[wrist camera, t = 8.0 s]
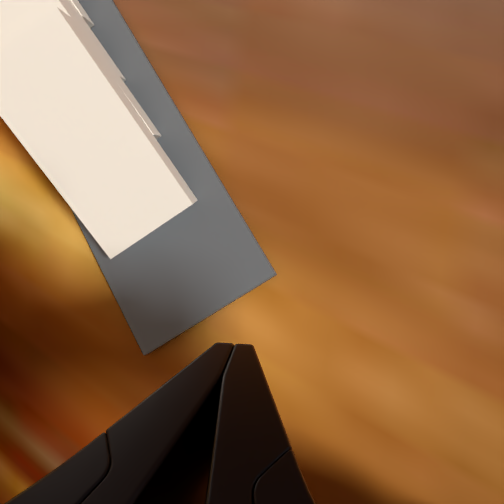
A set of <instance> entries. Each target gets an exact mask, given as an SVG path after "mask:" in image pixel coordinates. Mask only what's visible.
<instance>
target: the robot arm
mask: <svg viewBox="0 0 504 504" xmlns="http://www.w3.org/2000/svg"><path fill="white" fill-rule="evenodd" d="M5 504H316V503H315V501H314V499H313V497H312V495H311V493H310V491H309V489H308V487H307V484H306V482H305V479H304V477H303V475H302V472H301V470H300V468H299V465H298V462H297V460H296V457H295V454H294V452H293V451H292V447H291V444H290V442H289V439H288V436H287V434H286V431H285V428H284V426H283V423H282V420H281V418H280V415H279V412H278V410H277V407H276V404H275V402H274V399H273V396H272V394H271V391H270V389H269V386H268V383H267V381H266V378H265V375H264V373H263V370H262V367H261V365H260V362H259V359H258V357H257V354H256V351H255V349H254V346H253V345H250V344H236V345H235V346H234V344H232V343H216V344H214V345H213V346H212V347H210V348H209V349H208V350H207V351H205V352H204V353H203V354H201V355H200V356H199V357H198V358H196V359H195V360H194V361H193V362H191V363H190V364H189V365H188V366H186V367H185V368H184V369H183V370H181V371H180V372H179V373H178V374H176V375H175V376H174V377H173V378H171V379H170V380H169V381H167V382H166V383H165V384H164V385H162V386H161V387H160V388H159V389H157V390H156V391H155V392H154V393H152V394H151V395H150V396H149V397H147V398H146V399H145V400H144V401H142V402H141V403H140V404H139V405H137V406H136V407H135V408H134V409H132V410H131V411H130V412H128V413H127V414H126V415H125V416H123V417H122V418H121V419H120V420H118V421H117V422H116V423H115V424H113V425H112V426H111V427H110V428H108V429H107V430H106V433H102V434H101V435H99V436H98V437H97V438H96V439H94V440H93V441H92V442H90V443H89V444H88V445H87V446H85V447H84V448H83V449H81V450H80V451H79V452H77V453H76V454H75V455H74V456H72V457H71V458H70V459H68V460H67V461H66V462H64V463H63V464H62V465H60V466H59V467H57V468H56V469H55V470H53V471H52V472H50V473H49V474H47V475H46V476H44V477H43V478H42V479H40V480H39V481H37V482H36V483H34V484H33V485H32V486H30V487H29V488H27V489H26V490H24V491H23V492H21V493H20V494H18V495H17V496H15V497H14V498H12V499H11V500H9V501H8V502H6V503H5Z"/></svg>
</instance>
